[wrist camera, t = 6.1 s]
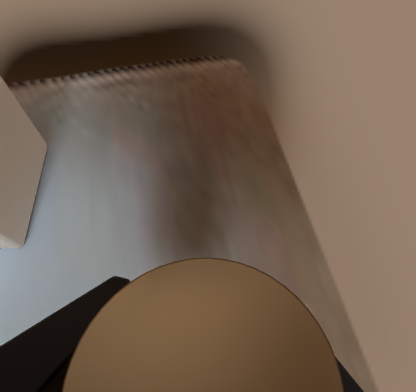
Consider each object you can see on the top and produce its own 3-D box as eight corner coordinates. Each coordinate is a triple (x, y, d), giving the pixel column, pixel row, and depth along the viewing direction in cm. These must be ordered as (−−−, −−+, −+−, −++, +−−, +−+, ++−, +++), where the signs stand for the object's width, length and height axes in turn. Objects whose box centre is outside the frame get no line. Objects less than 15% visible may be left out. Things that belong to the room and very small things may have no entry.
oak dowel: (116, 385, 14) (-8, 505, 4) (161, 288, 15) (142, 219, 6) (211, 430, 13) (301, 660, 4) (247, 326, 15) (373, 319, 5)
